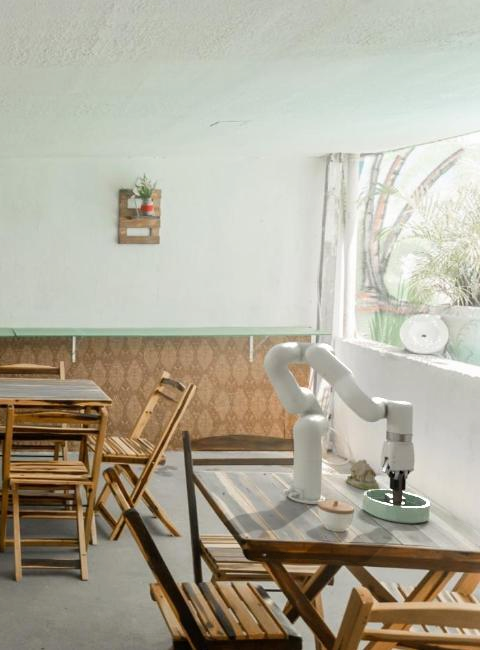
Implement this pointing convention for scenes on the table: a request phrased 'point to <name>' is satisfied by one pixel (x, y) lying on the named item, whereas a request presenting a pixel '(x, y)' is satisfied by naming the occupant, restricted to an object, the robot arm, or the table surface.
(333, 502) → the trinket box
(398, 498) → the muddler
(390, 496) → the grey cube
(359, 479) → the ceramic model
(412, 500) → the bowl
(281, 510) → the table surface
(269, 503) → the table surface
